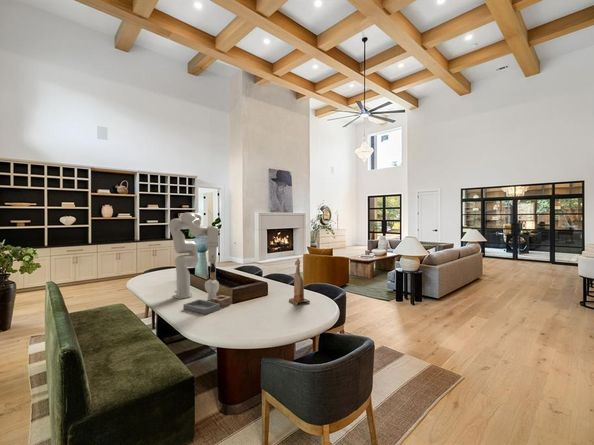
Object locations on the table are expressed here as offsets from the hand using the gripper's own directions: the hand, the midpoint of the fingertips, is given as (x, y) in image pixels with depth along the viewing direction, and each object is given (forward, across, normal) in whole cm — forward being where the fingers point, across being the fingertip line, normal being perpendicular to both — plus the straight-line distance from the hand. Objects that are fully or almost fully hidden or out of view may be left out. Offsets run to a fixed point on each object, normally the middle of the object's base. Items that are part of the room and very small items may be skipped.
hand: (212, 271), depth 197 cm
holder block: (+24, -2, +5) cm, 25 cm away
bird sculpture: (+24, +8, +59) cm, 64 cm away
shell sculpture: (+24, -16, -1) cm, 29 cm away
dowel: (+6, 0, 0) cm, 6 cm away
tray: (+24, +4, -7) cm, 25 cm away
